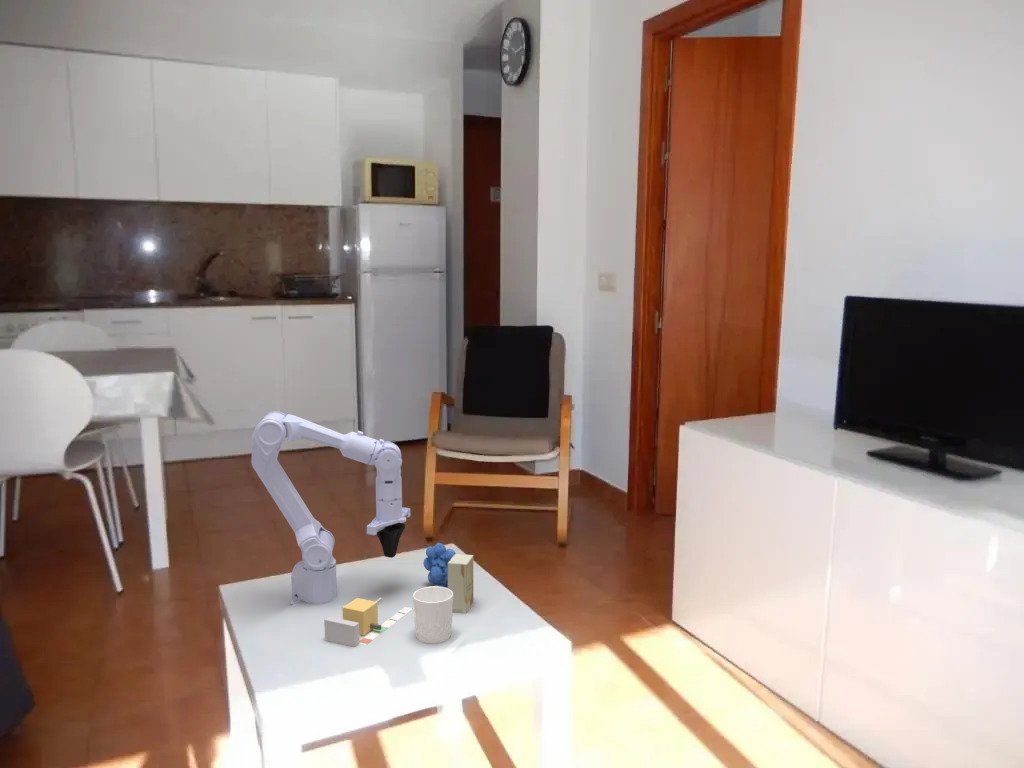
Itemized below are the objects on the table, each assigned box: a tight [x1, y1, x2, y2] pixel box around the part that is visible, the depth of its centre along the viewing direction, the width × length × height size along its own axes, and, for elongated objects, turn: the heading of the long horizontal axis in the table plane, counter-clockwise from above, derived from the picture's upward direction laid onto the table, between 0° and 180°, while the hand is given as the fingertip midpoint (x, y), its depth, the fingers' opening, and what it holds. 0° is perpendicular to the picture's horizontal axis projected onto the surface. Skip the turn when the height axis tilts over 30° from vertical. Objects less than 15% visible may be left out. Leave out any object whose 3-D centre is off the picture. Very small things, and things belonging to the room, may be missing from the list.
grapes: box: [423, 542, 457, 588], centre depth 173 cm, size 12×7×12 cm, turn 56°
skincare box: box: [448, 553, 475, 615], centre depth 164 cm, size 6×4×12 cm
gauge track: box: [323, 596, 414, 648], centre depth 158 cm, size 11×22×6 cm, turn 157°
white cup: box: [412, 585, 453, 644], centre depth 151 cm, size 8×8×10 cm
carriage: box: [341, 597, 382, 637], centre depth 154 cm, size 7×5×5 cm
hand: (390, 556), depth 171 cm, fingers closed
